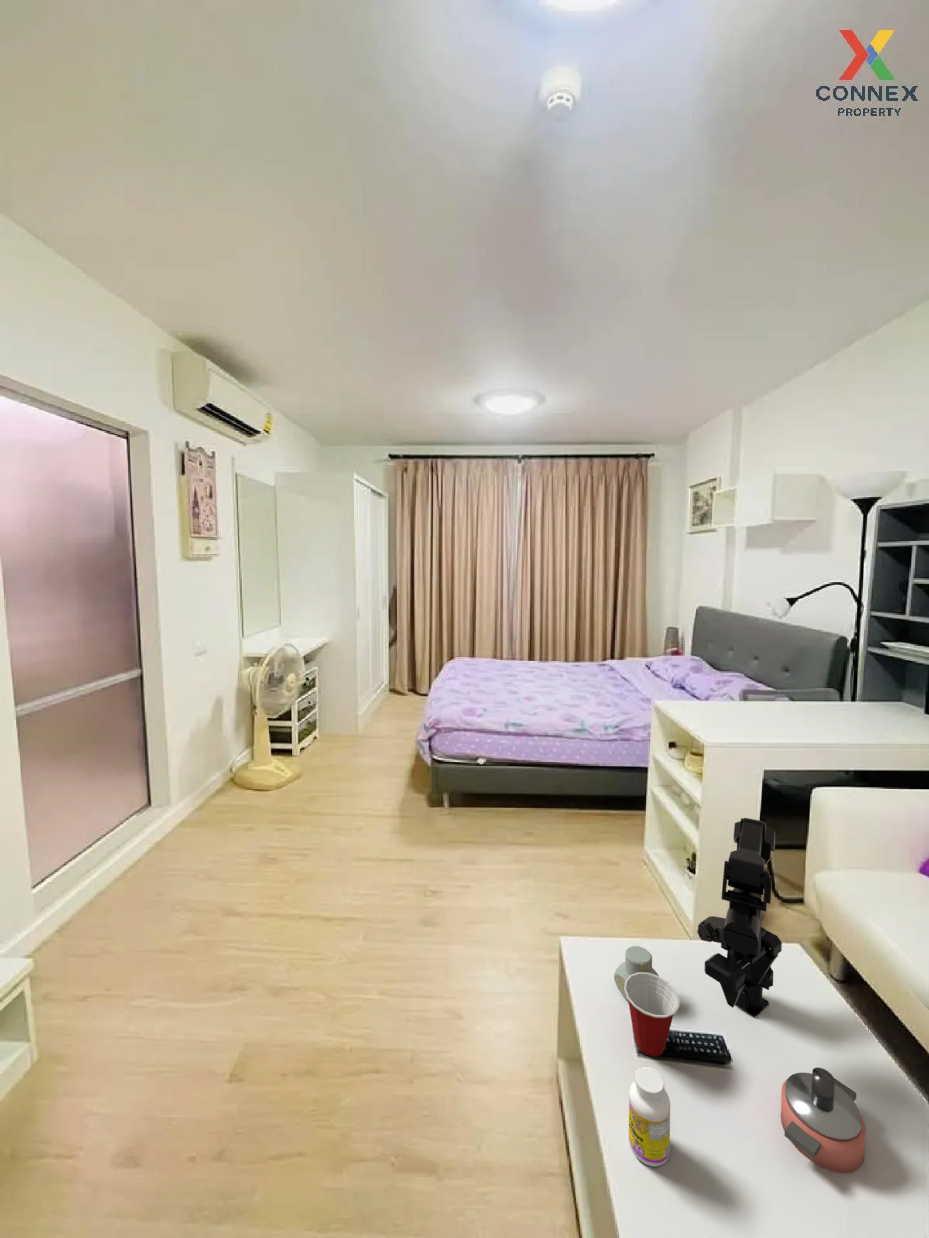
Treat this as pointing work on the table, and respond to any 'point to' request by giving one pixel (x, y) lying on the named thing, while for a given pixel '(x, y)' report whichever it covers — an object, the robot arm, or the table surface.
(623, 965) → the air freshener
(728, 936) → the robot arm
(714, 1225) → the table surface
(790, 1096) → the lid
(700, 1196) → the table surface
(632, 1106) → the supplement bottle
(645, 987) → the plastic cup
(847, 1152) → the pot
